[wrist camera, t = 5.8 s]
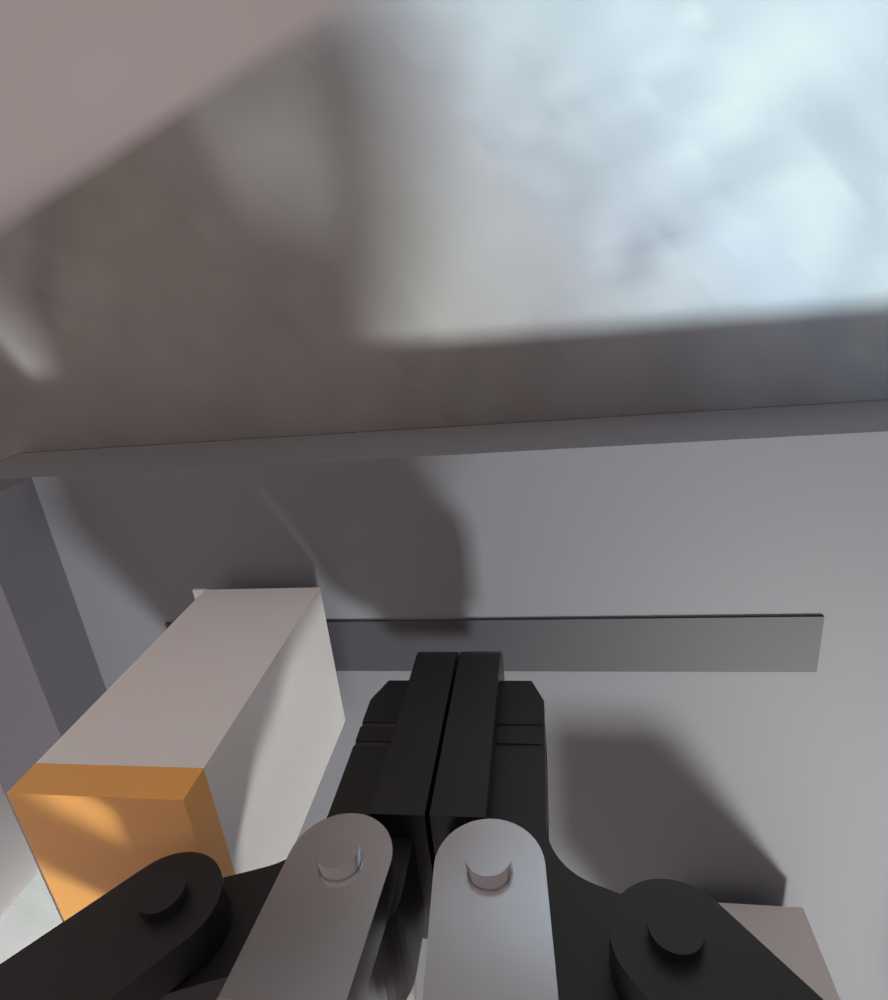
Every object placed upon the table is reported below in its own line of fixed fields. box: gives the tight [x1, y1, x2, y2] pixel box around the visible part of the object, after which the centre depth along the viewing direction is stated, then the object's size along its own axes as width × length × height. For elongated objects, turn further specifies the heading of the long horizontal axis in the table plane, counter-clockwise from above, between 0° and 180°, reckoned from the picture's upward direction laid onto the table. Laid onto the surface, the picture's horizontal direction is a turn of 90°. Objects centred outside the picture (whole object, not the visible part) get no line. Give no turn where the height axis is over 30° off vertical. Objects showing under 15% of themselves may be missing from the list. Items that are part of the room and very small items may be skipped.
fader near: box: [7, 587, 345, 921], centre depth 11 cm, size 2×3×5 cm
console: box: [0, 400, 888, 1000], centre depth 14 cm, size 22×16×4 cm
